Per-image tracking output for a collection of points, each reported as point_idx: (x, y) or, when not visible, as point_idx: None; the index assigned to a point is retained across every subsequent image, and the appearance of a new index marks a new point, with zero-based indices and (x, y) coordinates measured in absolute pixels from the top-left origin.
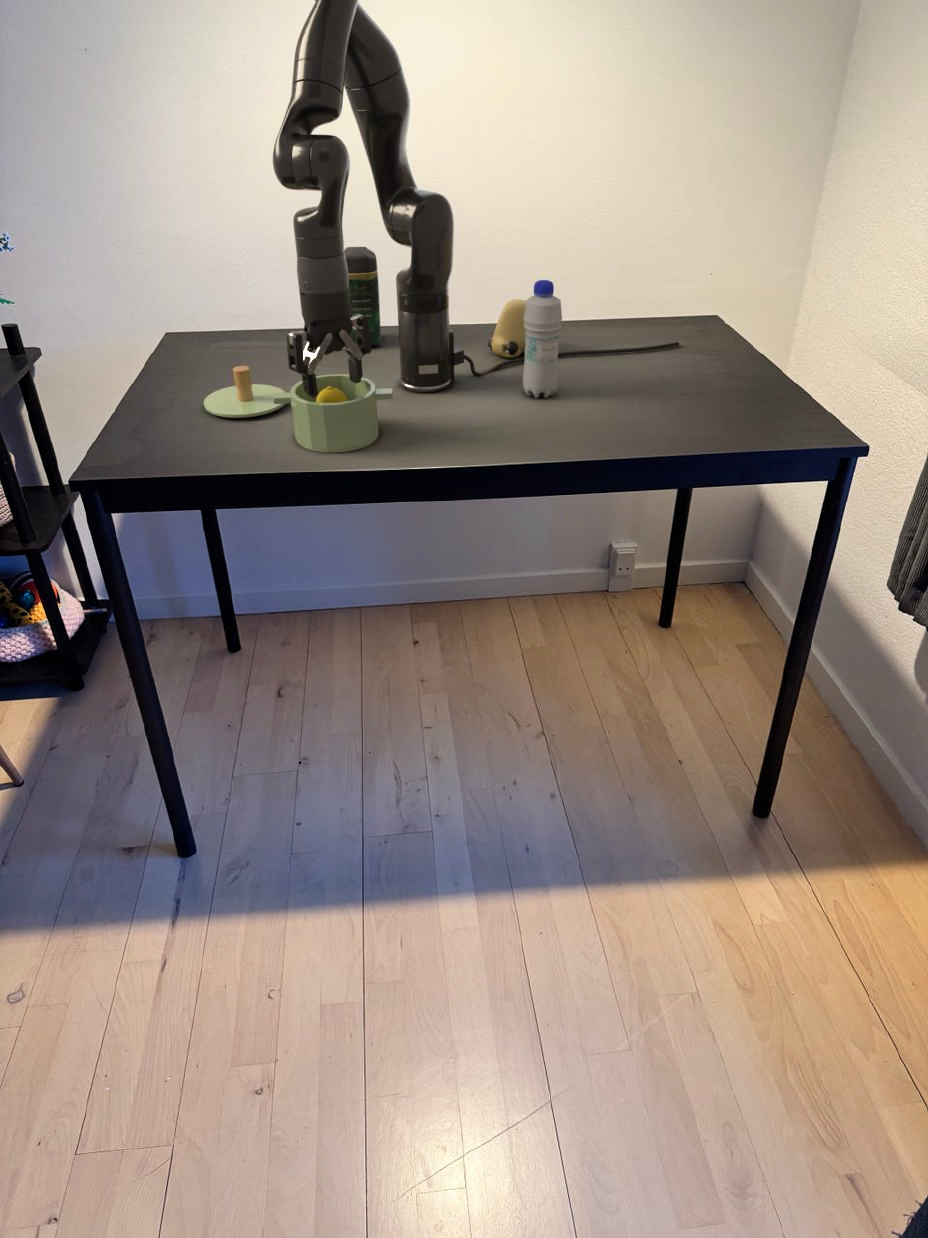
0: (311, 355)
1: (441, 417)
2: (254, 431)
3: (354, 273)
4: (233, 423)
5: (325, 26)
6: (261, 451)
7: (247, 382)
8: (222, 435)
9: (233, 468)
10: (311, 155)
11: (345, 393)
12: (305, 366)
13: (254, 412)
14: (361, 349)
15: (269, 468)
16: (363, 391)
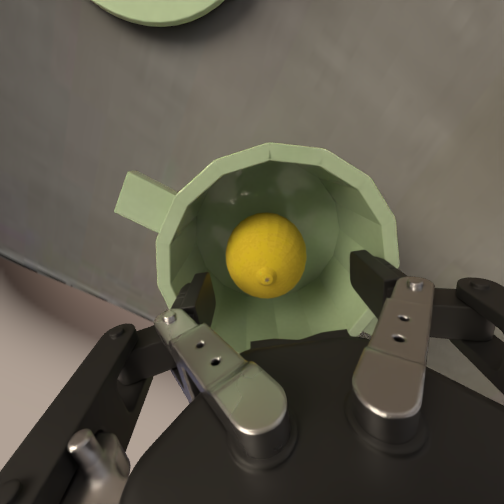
0: (188, 393)
1: (462, 267)
2: (123, 109)
3: None
4: (83, 16)
5: None
6: (114, 219)
7: None
8: (47, 84)
9: (53, 256)
10: None
11: (341, 190)
12: (162, 370)
13: (135, 15)
14: (444, 337)
15: (113, 287)
16: (367, 244)
